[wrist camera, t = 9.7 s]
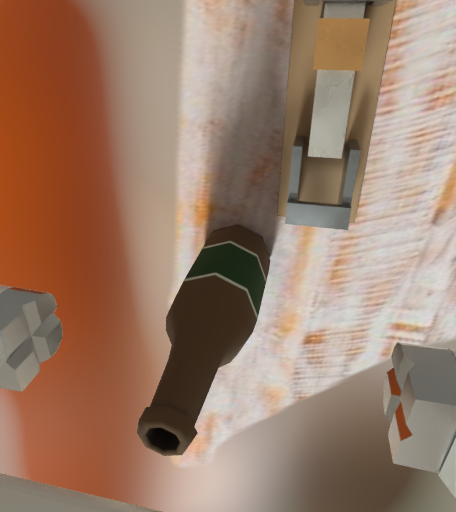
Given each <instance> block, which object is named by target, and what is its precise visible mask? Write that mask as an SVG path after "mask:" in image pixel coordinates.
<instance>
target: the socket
mask: <svg viewBox="0 0 456 512" xmlns="http://www.w3.org/2000/svg"><path fill="white" fill-rule="evenodd" d="M319 1H370V2H369V6H383V5H385V4H387V3H389V2H390V1H392V0H303V2H304V4H305V6H318V4H319Z"/></svg>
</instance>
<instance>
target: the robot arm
mask: <svg viewBox="0 0 456 512" xmlns="http://www.w3.org/2000/svg"><path fill="white" fill-rule="evenodd" d="M56 308H57V306H56V302H55V299H54V296H53V295H51V294H49V293H46V292H40V291H34V290H28V289H22V288H16V287H8V286H3V285H0V388H3V389H10V390H16V391H23V390H24V388H25V387H26V386H27V385H28V384H29V383H30V382H31V380H32V379H33V378H34V376H36V374H37V373H38V372H39V371H40V363H41V362H43V361H45V360H47V359H49V358H51V357H52V356H53V354H54V353H55V352H56V351H57V349H58V347H59V345H60V342H61V339H62V326H61V321H60V320H59V319H58V318H57V317H56V316H55V315H54V311H55V310H56ZM392 361H393V366H394V368H392V369H391V370H390V371H388V372H387V374H386V379H385V383H384V393H383V403H384V411H385V416H386V417H387V418H388V420H389V421H390V422H391V426H390V429H389V433H388V436H389V442H390V447H391V453H392V459H393V463H395V464H399V465H404V466H408V467H413V468H417V469H422V470H426V471H431V472H435V473H439V477H440V478H441V479H442V481H443V482H444V483H445V485H446V486H447V487H448V488H449V490H450V491H451V492H452V494H453V495H454V496H455V498H456V350H455V349H442V348H435V347H427V346H420V345H413V344H405V343H398V342H397V344H396V345H395V347H394V350H393V353H392ZM0 512H162V511H158V510H154V509H149V508H145V507H141V506H137V505H132V504H128V503H124V502H119V501H116V500H111V499H107V498H103V497H99V496H94V495H90V494H86V493H81V492H77V491H73V490H69V489H64V488H60V487H56V486H51V485H48V484H44V483H39V482H35V481H31V480H27V479H22V478H18V477H14V476H10V475H6V474H1V473H0Z"/></svg>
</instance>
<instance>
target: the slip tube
mask: <svg viewBox="0 0 456 512" xmlns="http://www.w3.org/2000/svg"><path fill="white" fill-rule="evenodd" d="M365 4H366V1H325V7H324V16H323V18H319V20H318V30H317V39H316V48H315V57H314V67H313V69H314V70H317V79H316V87H315V96H314V105H313V114H312V123H311V132H310V141H309V150H308V156H310V157H325V158H340V159H342V153H343V146H344V140H345V133H346V127H347V120H348V114H349V107H350V101H351V94H352V88H353V81H354V75H355V71H362V65H363V59H364V53H365V46H366V40H367V34H368V28H369V22H370V19H363V17H364V10H365Z"/></svg>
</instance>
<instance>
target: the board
mask: <svg viewBox="0 0 456 512" xmlns="http://www.w3.org/2000/svg"><path fill="white" fill-rule="evenodd" d="M369 2H370V1H366V4H365V10H364V17H363V19H370V22H369V28H368V34H367V40H366V46H365V53H364V59H363V65H362V71H355V75H354V81H353V88H352V94H351V101H350V107H349V114H348V120H347V127H346V133H345V140H344V146H343V153H342V159H340V158H325V157H310V156H308V150H309V141H310V132H311V123H312V114H313V105H314V96H315V87H316V79H317V70H314V69H313V67H314V57H315V48H316V39H317V30H318V20H319V18H323V16H324V7H325V1H319V4H318V6H305V4H304V2H303V0H294V11H293V23H292V36H291V48H290V61H289V73H288V86H287V98H286V111H285V123H284V136H283V148H282V161H281V173H280V186H279V198H278V211H277V216H284V217H286V210H287V201H288V192H289V181H290V170H291V159H292V149H293V143H294V140H295V136H305V137H304V146H303V156H302V165H301V175H300V184H299V194H298V201H306V202H318V203H329V204H338V197H339V191H340V185H341V178H342V172H343V166H344V159H345V153H346V147H347V140H348V139H357V141H358V144H359V147H360V150H361V152H360V157H359V163H358V169H357V174H356V180H355V186H354V191H353V197H352V203H351V208H352V209H351V214H350V220H349V223H355V218H356V213H357V207H358V202H359V197H360V191H361V186H362V180H363V175H364V170H365V164H366V159H367V153H368V148H369V143H370V137H371V132H372V127H373V121H374V116H375V110H376V105H377V100H378V94H379V89H380V84H381V78H382V73H383V67H384V62H385V57H386V51H387V46H388V40H389V35H390V30H391V24H392V19H393V14H394V8H395V3H396V0H392V1H390V2H389V3H387V4H385V5H383V6H369Z"/></svg>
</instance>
